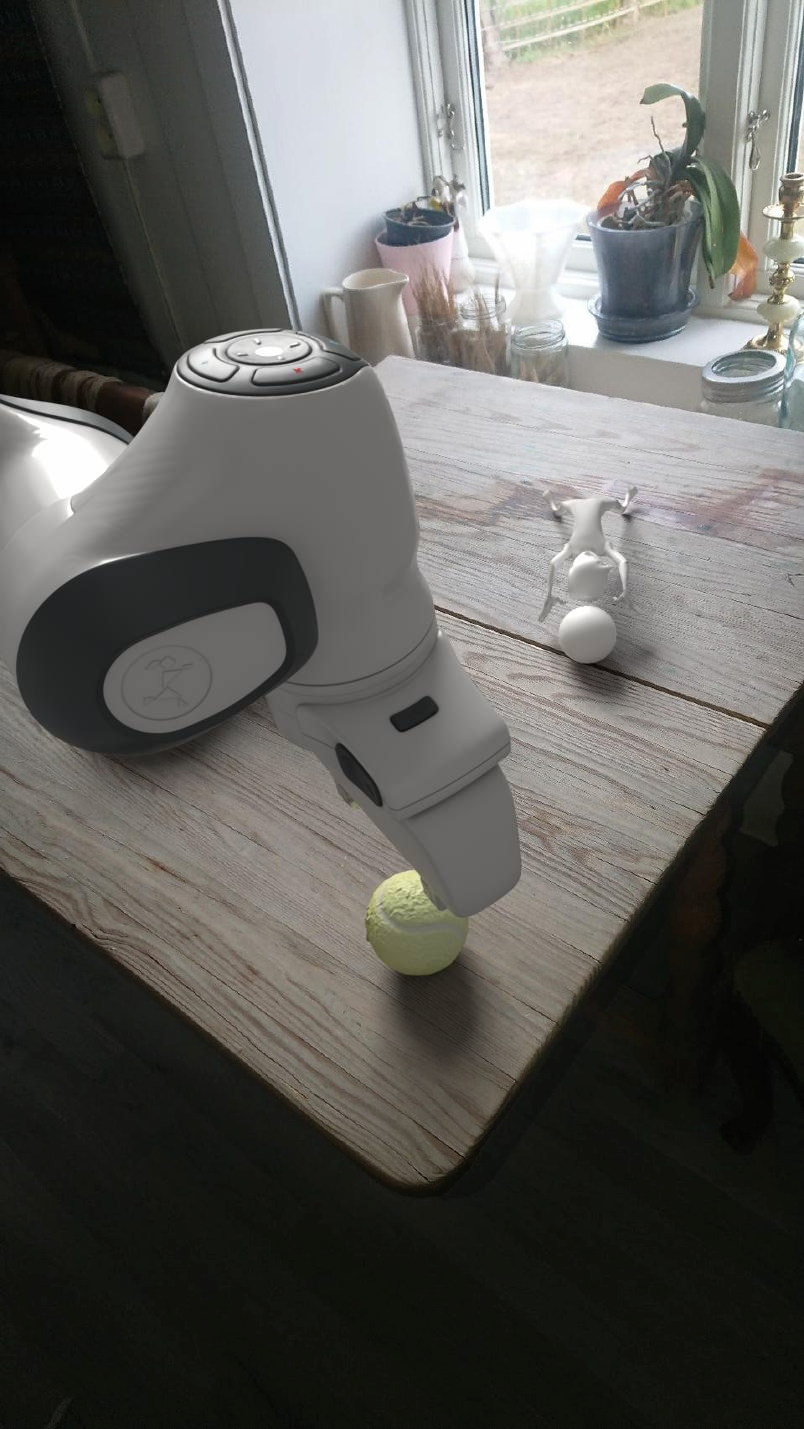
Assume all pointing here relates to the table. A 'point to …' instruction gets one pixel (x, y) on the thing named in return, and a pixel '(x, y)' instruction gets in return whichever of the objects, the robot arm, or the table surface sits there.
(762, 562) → the table surface
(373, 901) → the tennis ball
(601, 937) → the table surface
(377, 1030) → the table surface
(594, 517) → the figurine
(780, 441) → the table surface
